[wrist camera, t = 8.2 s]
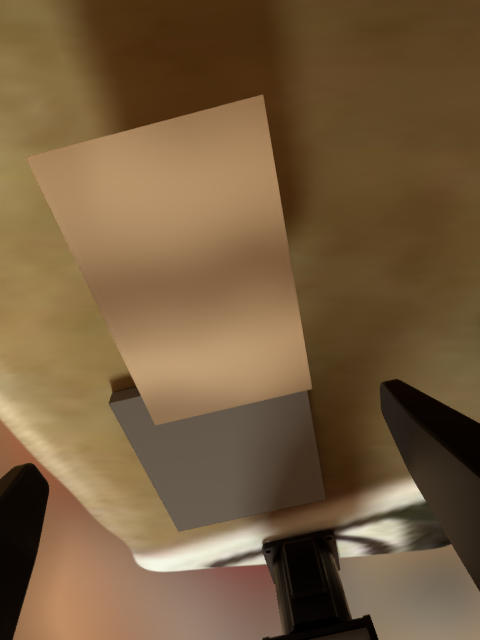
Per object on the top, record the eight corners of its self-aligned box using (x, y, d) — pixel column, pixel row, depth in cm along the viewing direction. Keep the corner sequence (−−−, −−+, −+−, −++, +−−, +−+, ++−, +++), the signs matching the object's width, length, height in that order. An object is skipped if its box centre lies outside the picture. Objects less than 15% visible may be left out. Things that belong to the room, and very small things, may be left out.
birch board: (301, 361, 17) (312, 388, 15) (160, 395, 17) (155, 425, 16) (254, 98, 12) (263, 94, 10) (51, 151, 12) (25, 157, 10)
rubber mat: (322, 488, 29) (326, 499, 28) (179, 519, 30) (178, 531, 29) (298, 349, 22) (301, 358, 21) (112, 392, 23) (108, 403, 22)
